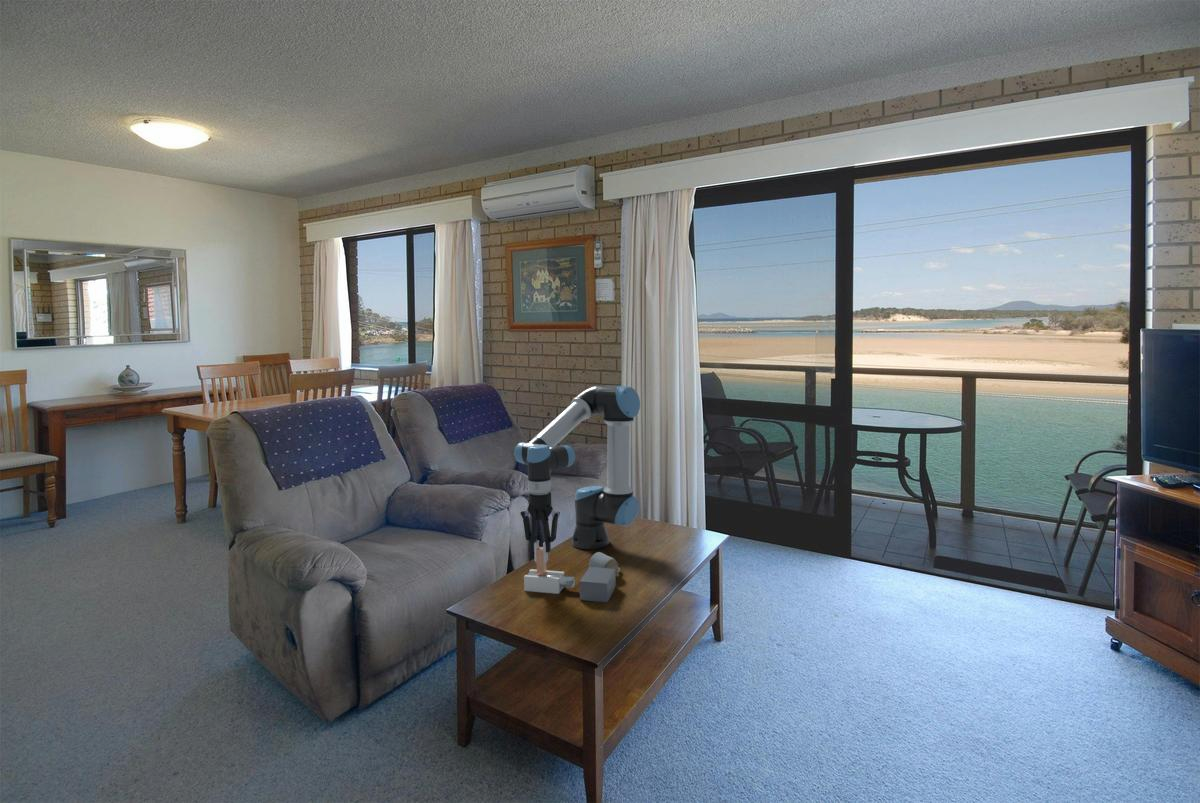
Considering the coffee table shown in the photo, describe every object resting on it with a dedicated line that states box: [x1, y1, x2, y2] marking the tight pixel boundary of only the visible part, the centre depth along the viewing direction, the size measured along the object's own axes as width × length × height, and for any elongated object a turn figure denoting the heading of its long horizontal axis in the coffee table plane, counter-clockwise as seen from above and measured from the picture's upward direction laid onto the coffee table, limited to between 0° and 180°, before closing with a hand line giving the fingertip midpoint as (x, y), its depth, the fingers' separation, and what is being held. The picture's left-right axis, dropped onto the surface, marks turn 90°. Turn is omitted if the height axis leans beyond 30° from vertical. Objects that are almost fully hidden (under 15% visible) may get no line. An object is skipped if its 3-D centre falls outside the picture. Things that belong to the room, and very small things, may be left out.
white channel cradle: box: [523, 568, 565, 595], centre depth 205 cm, size 6×12×5 cm, turn 76°
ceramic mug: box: [588, 551, 621, 576], centre depth 216 cm, size 11×8×8 cm
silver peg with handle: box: [526, 546, 576, 588], centre depth 204 cm, size 3×16×12 cm, turn 76°
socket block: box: [579, 566, 617, 603], centre depth 201 cm, size 12×9×6 cm
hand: (541, 560), depth 204 cm, fingers closed on silver peg with handle, 2 cm apart
